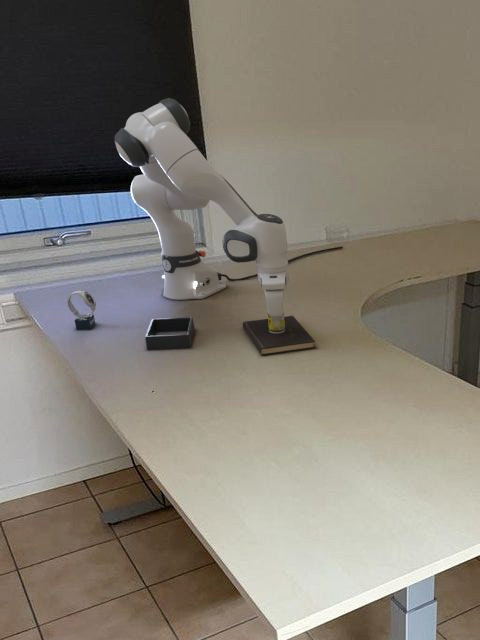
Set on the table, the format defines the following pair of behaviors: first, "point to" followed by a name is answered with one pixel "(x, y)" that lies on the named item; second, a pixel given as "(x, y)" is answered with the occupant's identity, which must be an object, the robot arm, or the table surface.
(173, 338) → the tray
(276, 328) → the supplement bottle
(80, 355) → the table surface
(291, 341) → the hardcover book
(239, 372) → the table surface
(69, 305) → the watch
